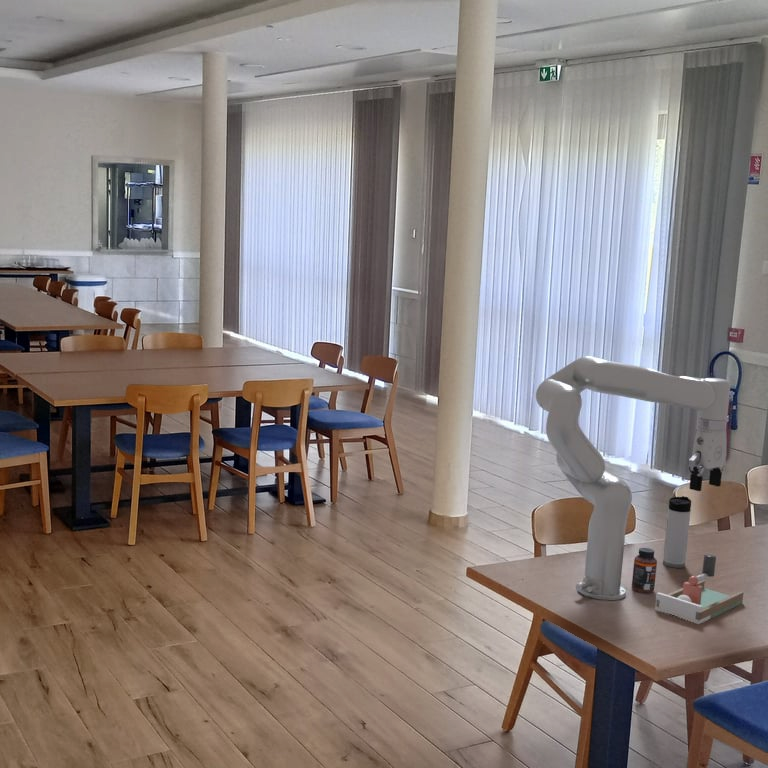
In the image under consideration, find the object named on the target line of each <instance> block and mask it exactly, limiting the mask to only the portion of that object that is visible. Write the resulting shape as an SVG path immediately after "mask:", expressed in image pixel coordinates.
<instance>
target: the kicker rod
mask: <svg viewBox="0 0 768 768" xmlns="http://www.w3.org/2000/svg"><path fill="white" fill-rule="evenodd" d="M702 561H703V562H702V573H701V574H699V575H696V576H695V575H692V576H690V577H689V578H688V581H685V582H683V584H682V588H683V592H682V595H687V596H688V597H690V599H691V600H692V603H695V604H698V605H700V604H701V595H702V586H700V585H697V584H698V582H699V581H702V580H703V581H705V580H706V579H709V578H711V577H715V571H716V563H717V556H716V555H713V554H709V553H708V554H704V555H703V560H702Z"/></svg>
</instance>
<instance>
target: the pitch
mask: <svg viewBox="0 0 768 768" xmlns="http://www.w3.org/2000/svg"><path fill="white" fill-rule="evenodd" d="M705 582H706V581H705V580H702V581H699V582H698V584H697V585H700V586H702V595H701V604H700V605H698V604H695V603H691V602H688V601H685V600H682V599H679V598H677V597H679V596H680V595H682V592H683V587H681V588H679V589H675V590H673V591H671V592H669V593H666V594H665V593H662V592H656V598H655V607H654V608H655V609H656V610H655V609H654V610H655V611H657V610H658V611H657V612H660V611H662V612H661V613H663V612H665V613H664V614H666V613H669V614H672V615H675V616H678V617H680V618H679V619H681V618H683V619H682V620H684V619H685V621H687V620H688V622H690V621H691V623H693V622H694V624H695V625H696V624H697V625H700V624H702V623H705V622H706V621H709V620H710V619H713V618H714V617H716V616H720V615H721V614H723V613H725V612H727V611H729V610H731V609H733V608H736V607H737V605H738V606H739V604H740V605H742V604H743V601H744V591H741V590H739V591H737V592H736V593H733V594H731V595H728V594H724V593H721V592H719V591H715V590H711V589H709V588H705ZM741 603H742V604H741ZM735 606H736V607H735ZM669 614H668V615H669ZM672 615H671V616H672ZM675 616H674V617H675ZM678 617H677V618H678Z"/></svg>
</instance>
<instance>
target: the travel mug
mask: <svg viewBox="0 0 768 768" xmlns="http://www.w3.org/2000/svg"><path fill="white" fill-rule="evenodd" d="M691 508H692V500H691V499H690V498H689V496H688V497H687V496H684V495H682V496H675V497H674V496H673V497H670V498H669V501H668V508H667V516H666V517H667V519H666V528H665V538H664V547H663V558H662V559H663V560H662V564H663V565H664V566H666V567H668V566H669V567H668V568H675V569H681V568H682V567H683V568H684V567H685V566H686V560H687V550H688V543H689V542H688V539H689V532H690V531H689V530H690V523H691V522H690V520H691V511H692V510H691ZM683 568H682V569H683Z"/></svg>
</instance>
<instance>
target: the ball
mask: <svg viewBox="0 0 768 768" xmlns="http://www.w3.org/2000/svg"><path fill="white" fill-rule="evenodd" d="M677 598H679V599H682V600H685V601H688V602H691V603H692V600H691V599H690V597H688V596H687V595H680V596H679V597H677Z"/></svg>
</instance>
